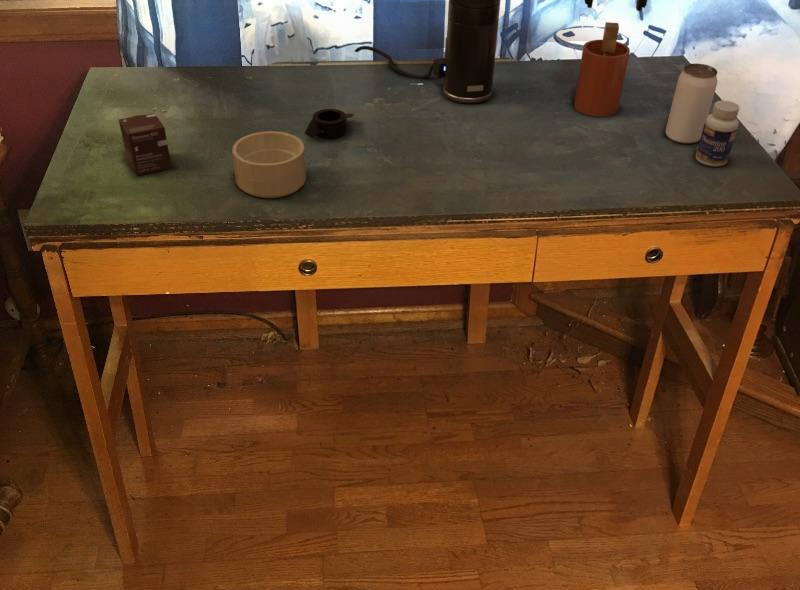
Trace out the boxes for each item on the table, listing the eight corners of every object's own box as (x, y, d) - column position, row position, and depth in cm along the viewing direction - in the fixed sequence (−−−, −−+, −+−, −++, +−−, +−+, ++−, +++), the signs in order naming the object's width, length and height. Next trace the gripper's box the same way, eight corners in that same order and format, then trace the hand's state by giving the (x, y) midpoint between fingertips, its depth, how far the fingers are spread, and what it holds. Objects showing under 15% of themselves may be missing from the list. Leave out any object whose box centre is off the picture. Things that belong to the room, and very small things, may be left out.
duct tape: (298, 125, 154) (297, 109, 152) (352, 119, 156) (352, 103, 154) (306, 144, 149) (305, 129, 147) (362, 138, 151) (362, 122, 149)
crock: (565, 101, 163) (574, 43, 156) (602, 94, 166) (612, 36, 158) (589, 119, 158) (599, 60, 150) (626, 112, 160) (639, 53, 153)
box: (136, 176, 140) (127, 134, 134) (126, 160, 143) (117, 118, 138) (172, 168, 142) (165, 126, 137) (162, 153, 146) (154, 111, 140)
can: (702, 146, 151) (721, 79, 143) (665, 142, 152) (681, 75, 143) (700, 130, 156) (718, 64, 147) (664, 126, 156) (680, 60, 148)
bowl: (228, 172, 141) (224, 138, 137) (293, 160, 145) (290, 126, 140) (248, 205, 134) (244, 170, 130) (315, 191, 137) (314, 157, 133)
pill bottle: (690, 161, 147) (705, 107, 140) (701, 149, 150) (716, 95, 143) (721, 170, 145) (737, 115, 138) (731, 158, 148) (748, 104, 141)
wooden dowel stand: (586, 111, 159) (601, 28, 149) (585, 101, 162) (600, 19, 152) (608, 112, 159) (624, 29, 148) (607, 103, 162) (623, 21, 151)
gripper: (675, -100, 141) (652, 2, 152) (588, -105, 141) (571, -3, 153) (681, -87, 135) (657, 18, 147) (591, -93, 136) (573, 13, 147)
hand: (613, 7), depth 150 cm, fingers open, 8 cm apart
